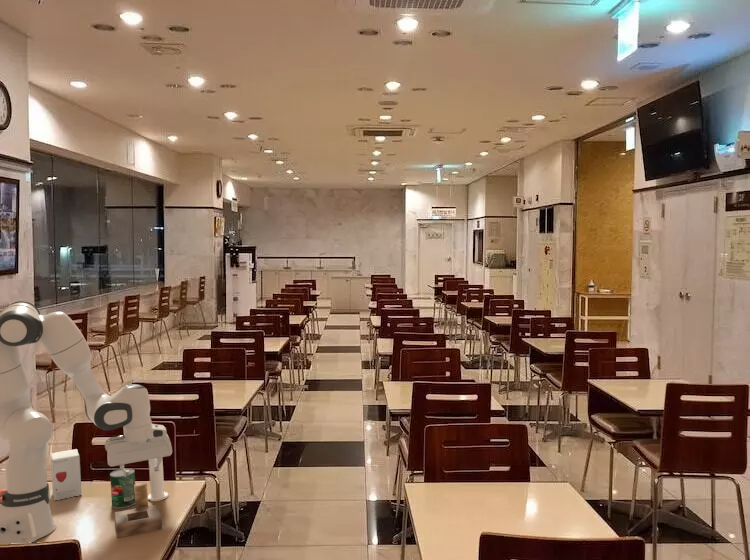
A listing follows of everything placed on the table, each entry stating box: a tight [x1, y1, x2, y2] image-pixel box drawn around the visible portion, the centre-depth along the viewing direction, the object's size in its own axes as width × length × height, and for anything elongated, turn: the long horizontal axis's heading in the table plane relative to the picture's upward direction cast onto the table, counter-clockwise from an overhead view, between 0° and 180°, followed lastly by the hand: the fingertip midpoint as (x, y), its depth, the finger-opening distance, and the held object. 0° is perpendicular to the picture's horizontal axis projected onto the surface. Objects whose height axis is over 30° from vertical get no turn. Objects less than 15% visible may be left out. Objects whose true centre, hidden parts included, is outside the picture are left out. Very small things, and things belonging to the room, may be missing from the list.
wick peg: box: [134, 482, 149, 509], centre depth 219 cm, size 4×4×9 cm
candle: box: [148, 458, 169, 502], centre depth 230 cm, size 7×7×25 cm
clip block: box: [114, 504, 163, 538], centre depth 209 cm, size 13×13×3 cm
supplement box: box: [50, 448, 83, 501], centre depth 236 cm, size 9×9×15 cm
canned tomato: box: [109, 467, 136, 509], centre depth 226 cm, size 8×8×11 cm
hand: (141, 473), depth 219 cm, fingers open, 8 cm apart
